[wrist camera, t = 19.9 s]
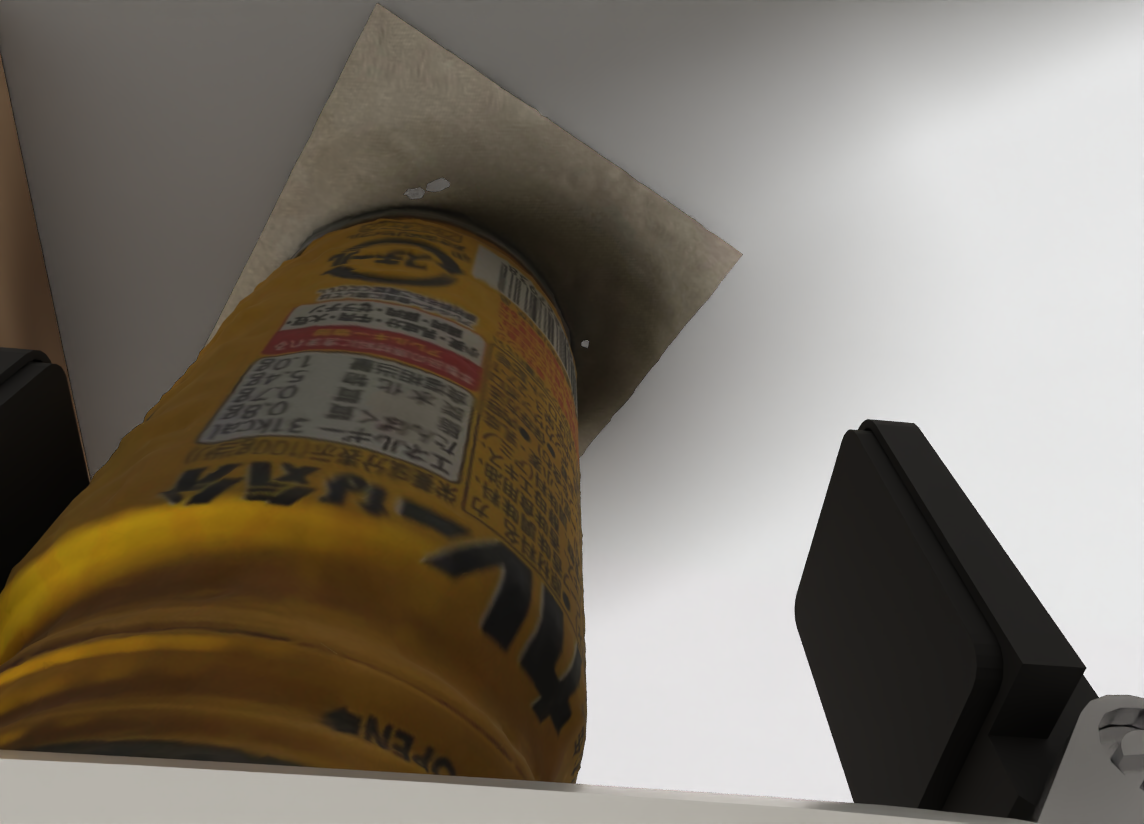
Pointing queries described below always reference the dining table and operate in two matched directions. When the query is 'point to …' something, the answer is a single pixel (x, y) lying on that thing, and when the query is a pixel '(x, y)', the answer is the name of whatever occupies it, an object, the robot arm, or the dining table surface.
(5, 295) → the frame
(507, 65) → the dining table surface
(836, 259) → the dining table surface
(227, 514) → the condiment
